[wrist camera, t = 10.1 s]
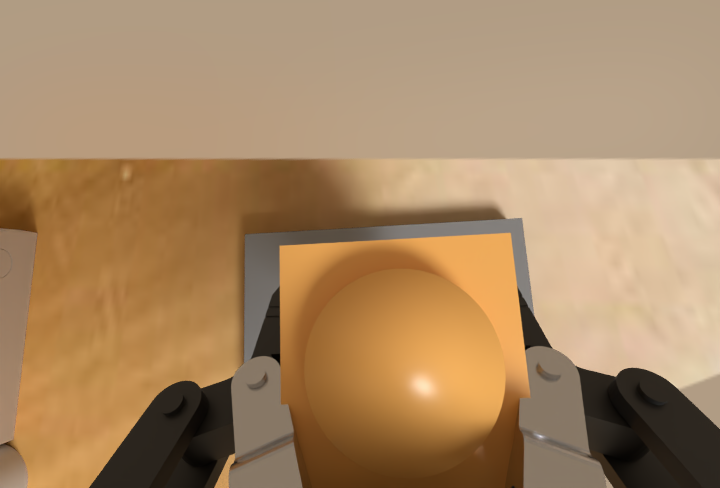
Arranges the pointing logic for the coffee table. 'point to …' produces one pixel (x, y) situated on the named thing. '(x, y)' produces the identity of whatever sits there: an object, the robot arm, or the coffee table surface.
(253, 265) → the riveted grey base plate
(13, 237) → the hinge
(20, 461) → the grey mounting bracket
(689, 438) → the robot arm
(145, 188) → the coffee table surface
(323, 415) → the orange dome-topped block
